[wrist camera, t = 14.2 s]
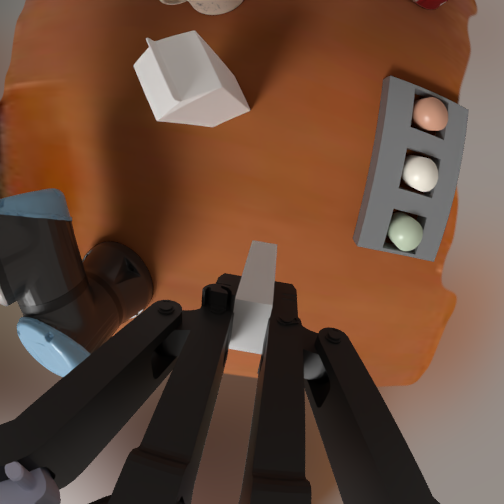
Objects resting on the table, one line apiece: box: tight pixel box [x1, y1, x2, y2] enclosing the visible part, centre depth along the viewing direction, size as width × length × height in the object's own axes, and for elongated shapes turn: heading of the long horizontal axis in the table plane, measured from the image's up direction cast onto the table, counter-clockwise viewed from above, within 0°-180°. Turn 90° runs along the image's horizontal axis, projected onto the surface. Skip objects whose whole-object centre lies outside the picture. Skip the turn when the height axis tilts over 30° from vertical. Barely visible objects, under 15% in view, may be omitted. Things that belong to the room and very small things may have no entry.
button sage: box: [387, 212, 423, 251], centre depth 37 cm, size 5×5×4 cm
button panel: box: [353, 76, 468, 262], centre depth 35 cm, size 25×14×3 cm, turn 172°
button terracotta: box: [411, 97, 448, 131], centre depth 30 cm, size 5×5×4 cm
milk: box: [134, 31, 250, 127], centre depth 25 cm, size 6×6×22 cm
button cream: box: [401, 155, 438, 192], centre depth 34 cm, size 5×5×4 cm
